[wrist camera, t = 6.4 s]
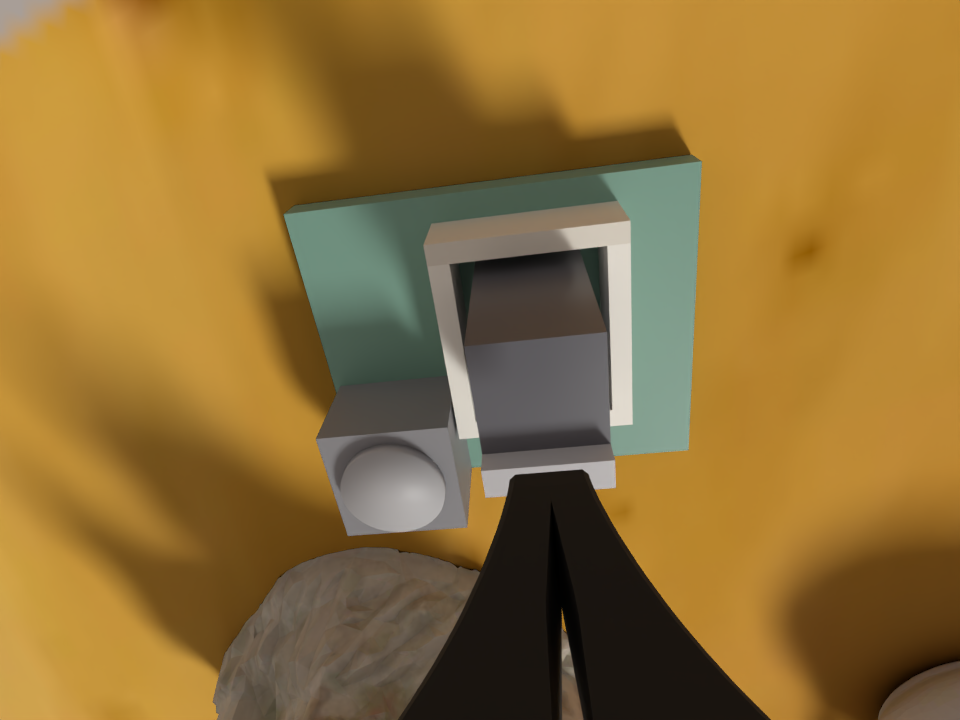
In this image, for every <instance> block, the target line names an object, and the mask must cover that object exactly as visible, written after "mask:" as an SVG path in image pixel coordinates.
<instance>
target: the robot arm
mask: <svg viewBox="0 0 960 720" xmlns="http://www.w3.org/2000/svg"><path fill="white" fill-rule="evenodd" d="M562 611H563V616H564V621H565V626H566V632H567V637H568V642H569V647H570V652H571V658H572V663H573V668H574V673H575V678H576V683H577V689H578V694H579V699H580V704H581V709H582V715H583V720H771V719H770V718H769V717H768V716H767V715H766V714H765V713H764V712H763V711H762V710H761V709H760V708H759V707H758V706H757V705H756V704H755V703H754V702H753V701H752V700H751V699H750V698H749V697H748V696H747V695H746V694H745V693H744V692H743V691H742V690H741V689H740V688H739V687H738V686H737V685H736V684H735V683H734V682H733V681H732V680H731V679H730V678H729V677H728V675H727V674H726V673H725V672H724V671H723V670H722V669H721V668H720V667H719V666H718V664H717V663H716V662H715V661H714V660H713V659H712V658H711V657H710V656H709V654H708V653H707V652H706V651H705V650H704V649H703V647H702V646H701V645H700V644H699V643H698V642H697V640H696V639H695V638H694V637H693V636H692V635H691V633H690V632H689V631H688V630H687V629H686V627H685V626H684V625H683V624H682V622H681V621H680V620H679V619H678V618H677V616H676V615H675V614H674V612H673V611H672V610H671V609H670V607H669V606H668V605H667V603H666V602H665V601H664V599H663V598H662V597H661V595H660V594H659V593H658V591H657V590H656V589H655V587H654V586H653V585H652V583H651V582H650V581H649V579H648V578H647V576H646V575H645V573H644V572H643V571H642V569H641V568H640V566H639V565H638V563H637V562H636V560H635V559H634V557H633V556H632V554H631V553H630V551H629V549H628V548H627V546H626V545H625V543H624V542H623V540H622V539H621V537H620V536H619V534H618V532H617V531H616V529H615V527H614V526H613V524H612V522H611V520H610V518H609V517H608V515H607V513H606V511H605V509H604V508H603V506H602V504H601V502H600V500H599V498H598V496H597V494H596V492H595V489H594V487H593V485H592V482H591V480H590V477H589V474H588V473H587V472H585V471H584V470H583V469H580V470H567V471H555V472H542V473H529V474H517V475H514V476H513V477H512V478H511V479H510V480H509V487H508V493H507V497H506V501H505V505H504V509H503V512H502V515H501V518H500V521H499V524H498V528H497V531H496V533H495V536H494V539H493V541H492V544H491V546H490V549H489V552H488V554H487V557H486V559H485V562H484V565H483V567H482V569H481V572H480V574H479V576H478V578H477V580H476V583H475V585H474V587H473V589H472V591H471V593H470V596H469V598H468V600H467V602H466V604H465V606H464V608H463V610H462V612H461V614H460V616H459V618H458V620H457V622H456V624H455V626H454V628H453V630H452V632H451V634H450V635H449V637H448V639H447V641H446V643H445V644H444V646H443V648H442V650H441V651H440V653H439V655H438V657H437V659H436V660H435V662H434V664H433V665H432V667H431V669H430V670H429V672H428V673H427V675H426V677H425V678H424V680H423V681H422V683H421V685H420V686H419V688H418V689H417V691H416V693H415V694H414V696H413V697H412V699H411V701H410V702H409V704H408V705H407V707H406V708H405V710H404V711H403V713H402V714H401V716H400V717H399V718H398V720H562Z"/></svg>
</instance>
